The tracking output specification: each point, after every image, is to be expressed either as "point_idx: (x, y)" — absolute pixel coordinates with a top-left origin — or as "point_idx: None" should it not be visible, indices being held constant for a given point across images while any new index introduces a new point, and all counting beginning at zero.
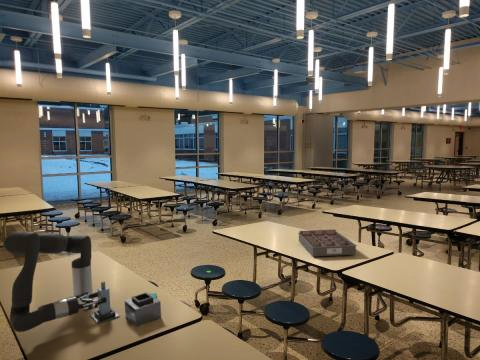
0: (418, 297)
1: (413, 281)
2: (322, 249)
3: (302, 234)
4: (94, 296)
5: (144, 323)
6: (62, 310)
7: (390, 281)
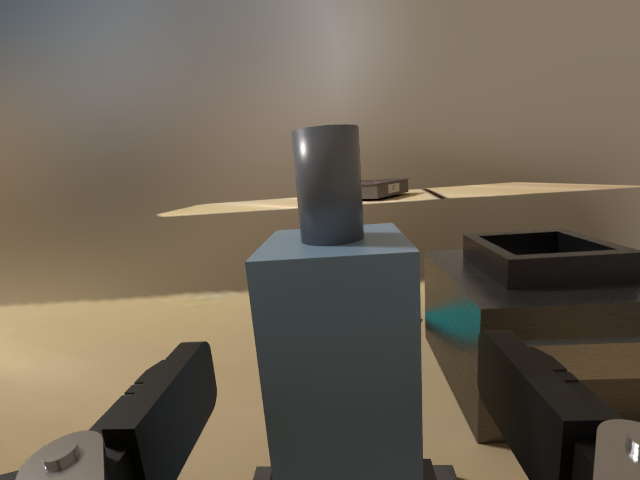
0: (574, 190)
1: (520, 189)
2: (384, 186)
3: None
4: (175, 450)
5: None
6: None
7: (510, 192)
